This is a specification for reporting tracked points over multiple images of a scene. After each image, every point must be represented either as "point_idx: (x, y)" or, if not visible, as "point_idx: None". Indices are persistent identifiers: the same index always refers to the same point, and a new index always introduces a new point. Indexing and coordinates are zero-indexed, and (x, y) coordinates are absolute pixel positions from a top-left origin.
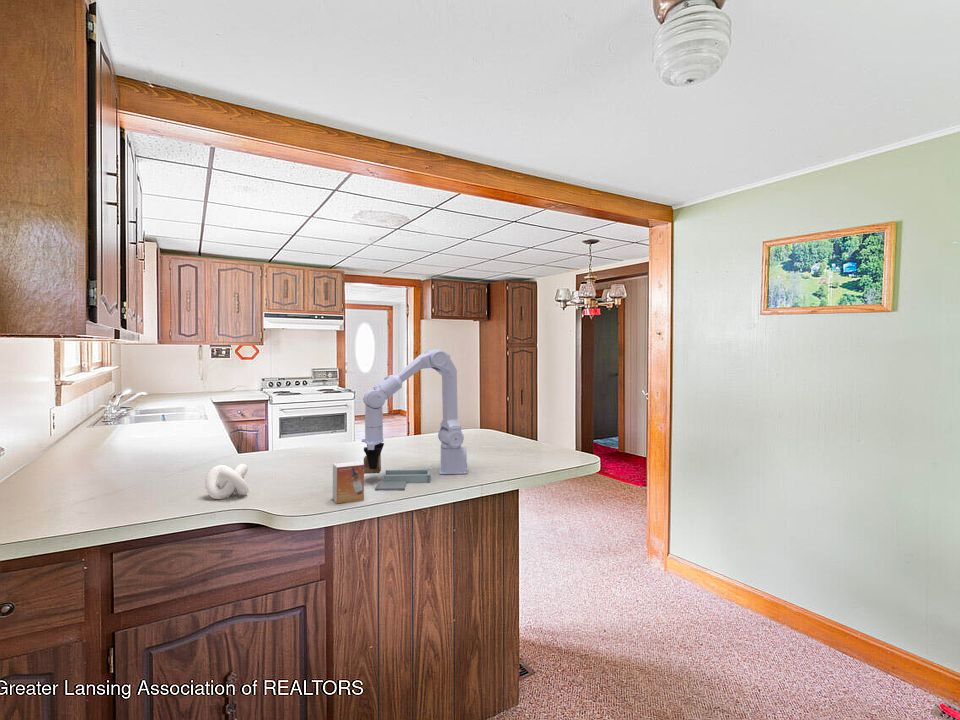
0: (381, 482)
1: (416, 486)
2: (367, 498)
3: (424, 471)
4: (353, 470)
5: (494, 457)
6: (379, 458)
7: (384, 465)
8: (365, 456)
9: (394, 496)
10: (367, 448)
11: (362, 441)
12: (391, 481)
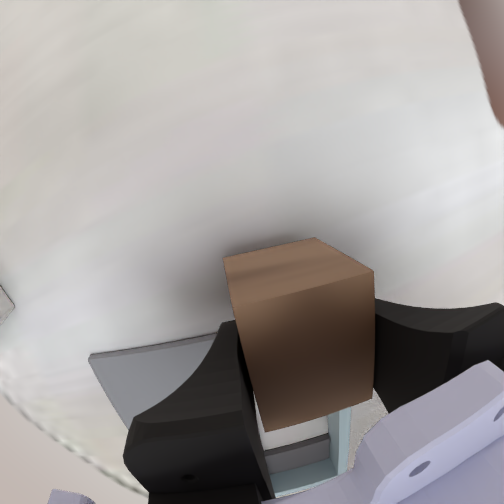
0: (196, 359)
1: None
2: (5, 348)
3: (336, 465)
4: None
5: None
6: (288, 419)
7: (500, 232)
8: (340, 284)
9: (66, 426)
10: (157, 479)
11: (364, 459)
12: None
